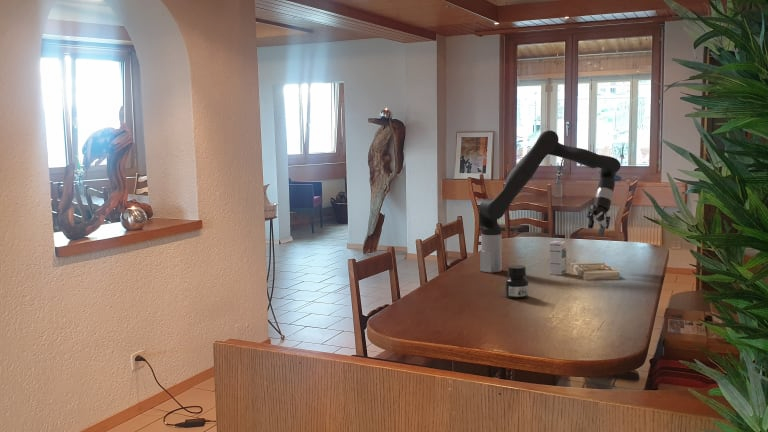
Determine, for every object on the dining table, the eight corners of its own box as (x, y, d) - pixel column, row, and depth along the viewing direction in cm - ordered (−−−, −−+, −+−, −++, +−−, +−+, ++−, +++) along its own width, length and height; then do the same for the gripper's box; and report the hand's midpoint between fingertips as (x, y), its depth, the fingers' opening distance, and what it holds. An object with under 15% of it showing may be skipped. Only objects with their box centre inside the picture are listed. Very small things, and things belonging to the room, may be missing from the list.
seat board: (619, 278, 303) (619, 271, 303) (584, 279, 303) (584, 272, 302) (602, 268, 325) (603, 261, 324) (570, 269, 325) (570, 262, 324)
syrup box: (561, 275, 312) (561, 243, 311) (548, 274, 316) (549, 242, 314) (566, 273, 317) (566, 241, 315) (554, 271, 320) (554, 240, 319)
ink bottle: (510, 300, 270) (510, 269, 268) (500, 295, 278) (500, 265, 277) (533, 298, 273) (533, 267, 271) (522, 293, 281) (522, 263, 279)
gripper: (604, 206, 329) (596, 238, 325) (587, 193, 321) (579, 225, 316) (618, 205, 323) (610, 238, 319) (601, 192, 315) (594, 225, 311)
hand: (595, 232), depth 318 cm, fingers open, 8 cm apart
